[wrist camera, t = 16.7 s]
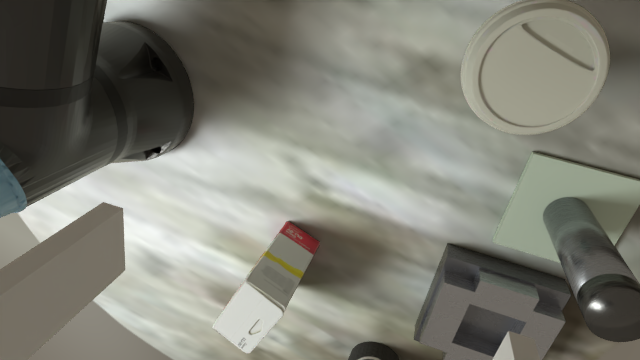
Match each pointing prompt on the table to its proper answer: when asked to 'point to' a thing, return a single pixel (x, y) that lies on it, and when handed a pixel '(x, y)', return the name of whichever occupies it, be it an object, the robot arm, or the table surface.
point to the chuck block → (488, 306)
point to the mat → (557, 182)
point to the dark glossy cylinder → (594, 270)
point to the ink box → (267, 289)
